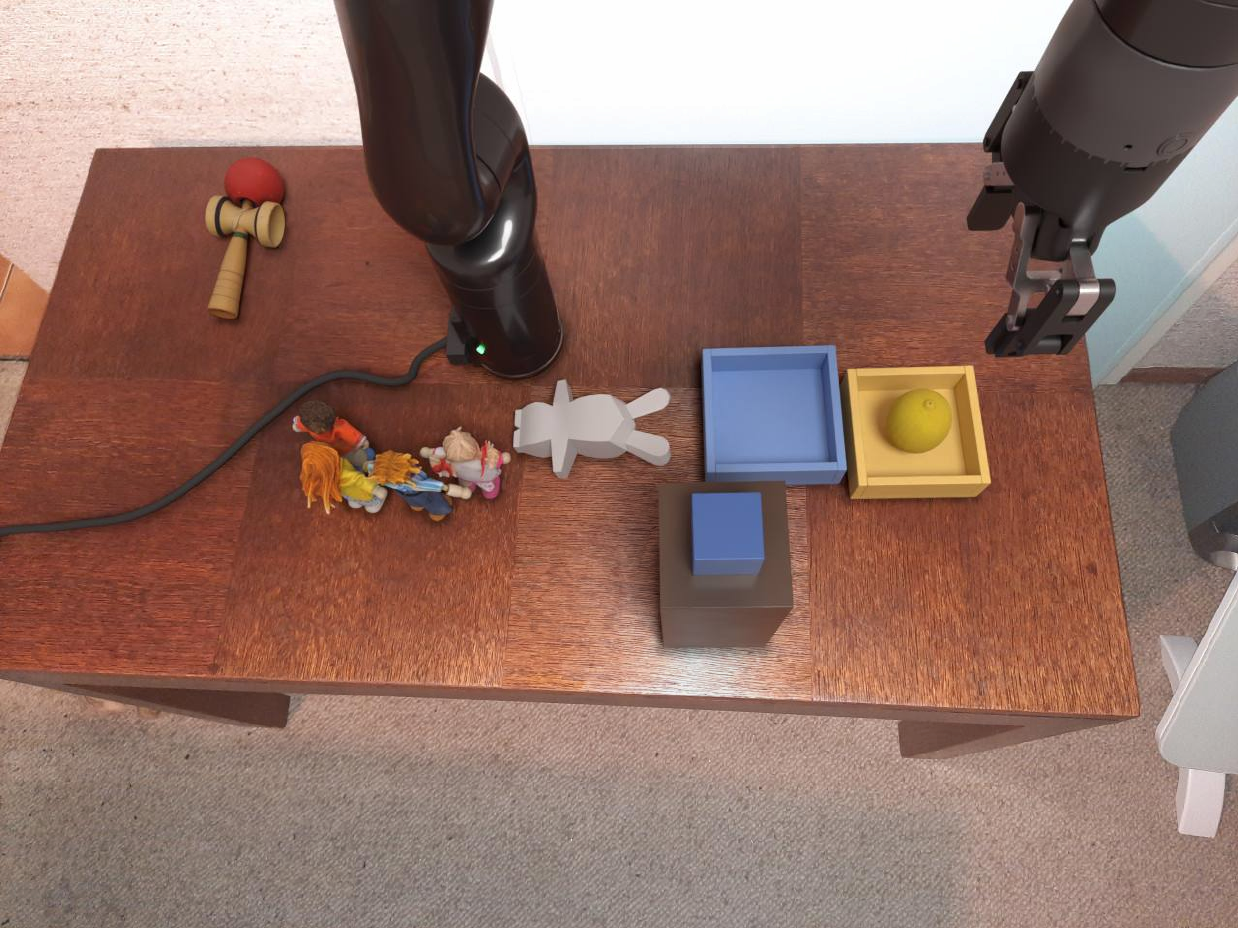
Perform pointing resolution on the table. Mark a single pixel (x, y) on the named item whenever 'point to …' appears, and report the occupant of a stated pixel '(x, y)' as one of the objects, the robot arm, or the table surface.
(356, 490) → the doll family
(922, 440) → the lemon
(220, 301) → the kendama
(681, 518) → the stand
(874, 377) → the yellow bin
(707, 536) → the blue block
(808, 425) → the blue bin
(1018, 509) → the table surface
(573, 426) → the bunny figurine
